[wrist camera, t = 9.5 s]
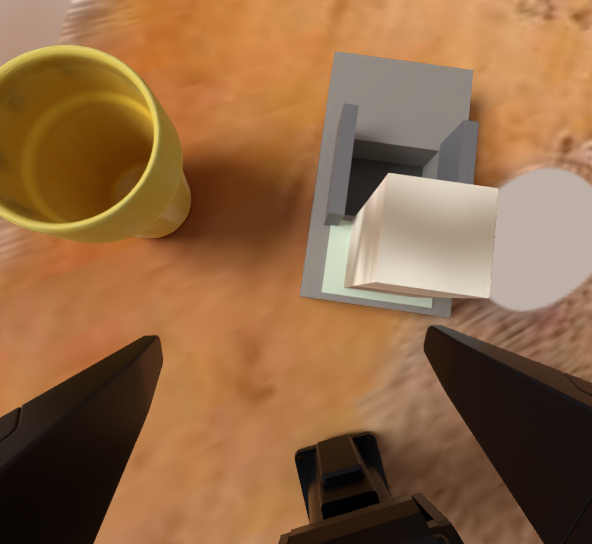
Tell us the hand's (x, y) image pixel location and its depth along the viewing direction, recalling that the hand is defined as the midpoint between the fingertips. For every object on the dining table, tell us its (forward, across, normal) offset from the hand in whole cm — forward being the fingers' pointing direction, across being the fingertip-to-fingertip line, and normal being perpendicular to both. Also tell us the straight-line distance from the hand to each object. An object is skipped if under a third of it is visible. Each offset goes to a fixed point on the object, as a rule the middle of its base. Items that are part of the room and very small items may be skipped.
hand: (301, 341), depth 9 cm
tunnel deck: (+16, -9, -4) cm, 19 cm away
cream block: (+11, -8, 0) cm, 13 cm away
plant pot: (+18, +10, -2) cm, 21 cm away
